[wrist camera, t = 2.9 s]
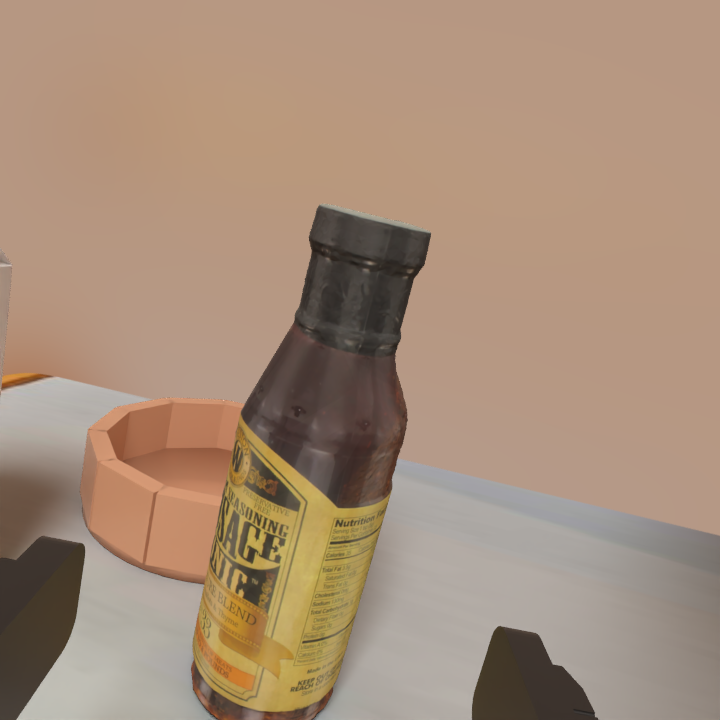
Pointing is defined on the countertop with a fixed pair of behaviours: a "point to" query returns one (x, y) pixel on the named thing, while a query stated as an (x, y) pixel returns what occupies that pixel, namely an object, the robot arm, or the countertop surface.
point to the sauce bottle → (309, 479)
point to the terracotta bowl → (159, 482)
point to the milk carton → (4, 304)
